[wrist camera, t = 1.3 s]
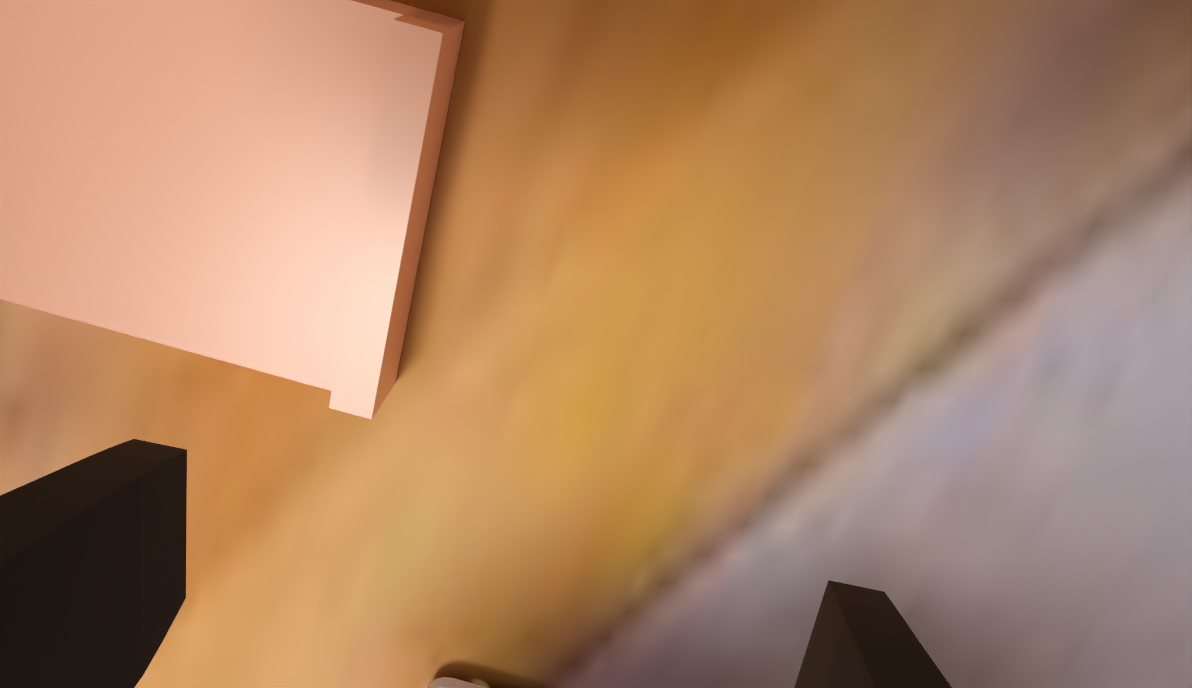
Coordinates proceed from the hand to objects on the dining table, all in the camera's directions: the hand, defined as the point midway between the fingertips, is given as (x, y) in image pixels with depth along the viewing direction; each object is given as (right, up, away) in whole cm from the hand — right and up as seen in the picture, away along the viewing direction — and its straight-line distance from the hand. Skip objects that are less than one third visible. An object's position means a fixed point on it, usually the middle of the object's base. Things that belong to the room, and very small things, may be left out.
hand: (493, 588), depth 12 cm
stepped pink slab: (-6, +6, +8) cm, 12 cm away
